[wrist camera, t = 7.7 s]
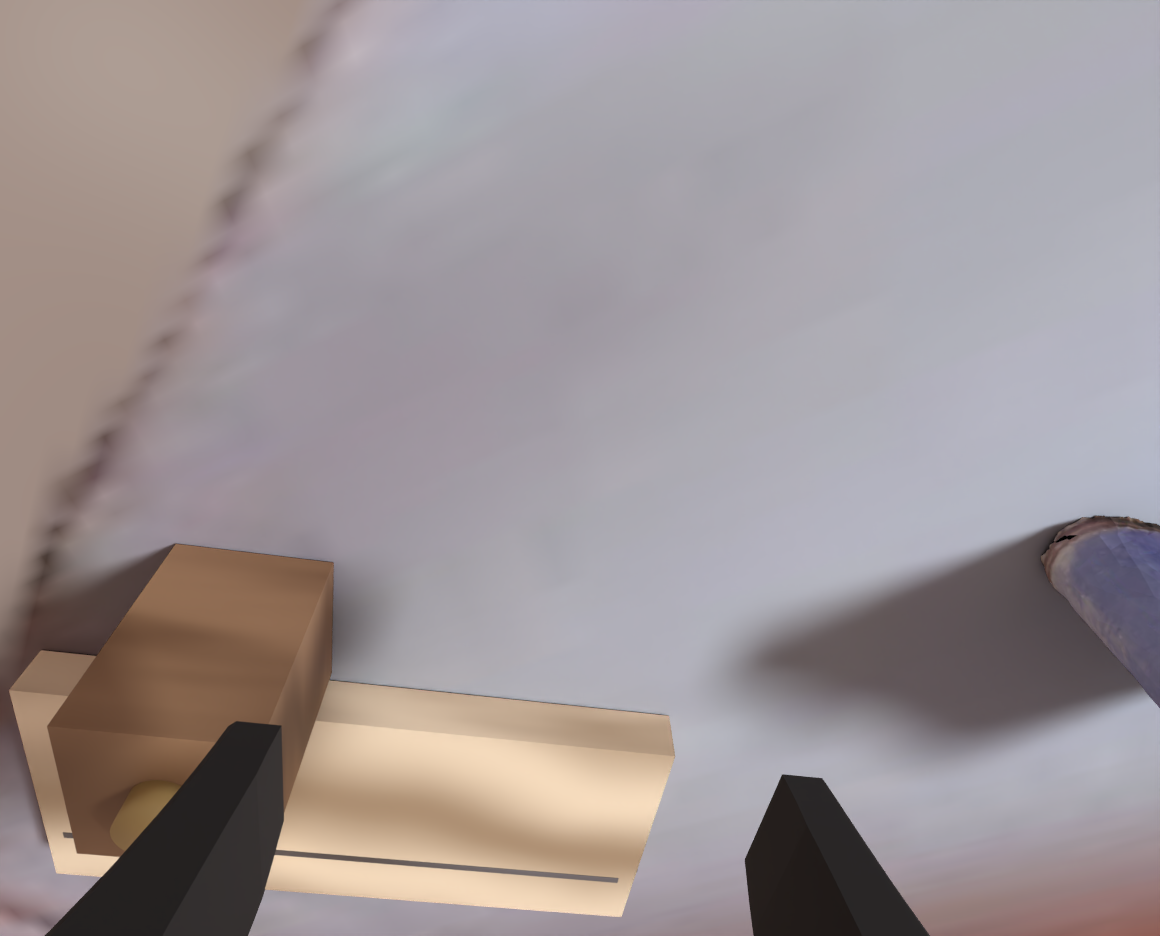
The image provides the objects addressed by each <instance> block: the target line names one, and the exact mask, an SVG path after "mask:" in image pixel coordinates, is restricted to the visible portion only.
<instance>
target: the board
mask: <svg viewBox="0 0 1160 936" xmlns="http://www.w3.org/2000/svg"><path fill="white" fill-rule="evenodd" d="M95 657H96V656H91V655H81V654H72V653H62V652H53V651H43V650H41V651H40V652H39V653H38V654H37V656H36V657H35V658H34V659H33V661H32V662H31V663H30V664H29V666H28V667H27V668H26V669H25V671H24V672H23V673H22V674H21V676H20V677H19V678H18V679H17V681H16V682H15V683H14V684H13V686H12V687H11V688H10V690H9V693H10V696H11V700H12V704H13V708H14V712H15V716H16V719H17V723H18V727H19V731H20V735H21V739H22V742H23V746H24V750H25V754H26V758H27V762H28V765H29V769H30V773H31V777H32V781H33V785H34V788H35V792H36V796H37V800H38V804H39V808H40V811H41V815H42V819H43V823H44V827H45V831H46V834H47V838H48V842H49V846H50V850H51V854H52V857H53V861H54V865H55V869H56V873H60V874H72V875H85V876H98V877H102V876H103V875H104V874H105V873H106V872H107V871H108V870H109V869H110V868H111V866H112V865H113V864H114V863H115V862H116V861H117V860H118V859H119V858H120V857H114V856H101V855H89V854H77V852H76V848H75V844H74V839H73V835H72V831H71V827H70V822H69V818H68V814H67V810H66V805H65V801H64V797H63V793H62V788H61V784H60V780H59V776H58V771H57V767H56V763H55V759H54V754H53V750H52V746H51V742H50V737H49V733H48V729H47V725H48V724H49V723H50V721H51V720H52V718H53V717H54V716H55V714H56V713H57V711H58V710H59V708H60V707H61V706H62V704H63V703H64V701H65V700H66V699H67V697H68V696H69V694H70V693H71V691H72V690H73V689H74V687H75V686H76V684H77V683H78V682H79V680H80V679H81V677H82V676H83V674H84V673H85V672H86V670H87V669H88V667H89V666H90V665H91V663H92V662H93V660H94V659H95ZM674 758H675V752H674V746H673V739H672V733H671V726H670V720H669V716H665V715H656V714H646V713H637V712H627V711H618V710H608V709H598V708H589V707H579V706H570V705H560V704H551V703H541V702H531V701H522V700H512V699H503V698H493V697H484V696H474V695H464V694H455V693H445V692H436V691H426V690H417V689H407V688H397V687H388V686H378V685H369V684H359V683H349V682H340V681H330V680H329V682H328V685H327V688H326V691H325V694H324V697H323V700H322V703H321V706H320V709H319V712H318V715H317V718H316V721H315V724H314V727H313V730H312V732H311V735H310V738H309V741H308V744H307V747H306V750H305V753H304V756H303V759H302V762H301V765H300V768H299V771H298V774H297V777H296V780H295V783H294V786H293V788H292V791H291V794H290V797H289V800H288V803H287V806H286V809H285V812H284V822H283V826H282V829H281V833H280V837H279V840H278V844H277V848H276V851H275V855H274V859H273V863H272V866H271V870H270V873H269V877H268V880H267V884H266V887H265V889H266V890H279V891H292V892H305V893H318V894H330V895H343V896H356V897H369V898H382V899H395V900H408V901H421V902H434V903H447V904H460V905H472V906H485V907H498V908H511V909H524V910H537V911H550V912H563V913H576V914H589V915H601V916H614V917H621V916H622V913H623V910H624V907H625V904H626V901H627V898H628V895H629V892H630V889H631V886H632V883H633V880H634V878H635V875H636V872H637V869H638V866H639V863H640V860H641V857H642V854H643V851H644V848H645V845H646V842H647V839H648V836H649V833H650V830H651V827H652V824H653V821H654V818H655V815H656V812H657V809H658V806H659V803H660V800H661V797H662V794H663V791H664V788H665V785H666V782H667V779H668V776H669V773H670V770H671V767H672V764H673V761H674Z"/></svg>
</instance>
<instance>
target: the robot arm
mask: <svg viewBox="0 0 1160 936" xmlns="http://www.w3.org/2000/svg"><path fill="white" fill-rule="evenodd" d="M283 822H284V801H283V763H282V725H272V724H261V723H251V722H241V721H236V722H234V723H232V724H231V725H229V726H228V727H227V728H226V730H225V731H224V732H223V734H222V735H221V736H220V738H219V739H218V740H217V742H216V743H215V744H214V746H213V747H212V748H211V750H210V751H209V752H208V753H207V755H206V756H205V757H204V759H203V760H202V761H201V762H200V764H199V765H198V766H197V768H196V769H195V770H194V771H193V773H192V774H191V775H190V776H189V777H188V779H187V780H186V781H185V782H184V784H183V785H182V786H181V787H180V788H179V790H178V791H177V792H176V793H175V794H174V796H173V797H172V798H171V799H170V800H169V802H168V803H167V804H166V805H165V806H164V808H163V809H162V810H161V811H160V812H159V814H158V815H157V816H156V817H155V818H154V819H153V820H152V821H151V823H150V824H149V825H148V826H147V827H146V828H145V829H144V830H143V832H142V833H141V834H140V835H139V836H138V837H137V838H136V840H135V841H134V842H133V843H132V844H131V845H130V846H129V847H128V849H127V850H126V851H125V852H124V853H123V854H122V855H121V856H120V858H119V859H118V860H117V861H116V862H115V863H114V864H113V865H112V866H111V868H110V869H109V870H108V871H107V872H106V873H105V874H104V875H103V876H102V877H101V878H100V879H99V880H98V881H97V882H96V883H95V884H94V886H93V887H92V888H91V889H90V890H89V891H88V892H87V893H86V894H85V895H84V896H83V897H82V898H81V899H80V900H79V901H78V902H77V903H76V904H75V905H74V906H73V907H72V908H71V909H70V910H69V911H68V912H67V914H66V915H65V916H64V917H63V918H62V919H61V920H60V921H59V922H58V923H57V924H56V925H55V926H54V927H53V928H52V929H51V930H50V931H49V932H48V933H47V934H46V935H45V936H248V934H249V932H250V929H251V926H252V924H253V921H254V919H255V916H256V913H257V911H258V908H259V905H260V903H261V900H262V897H263V894H264V891H265V887H266V884H267V880H268V877H269V873H270V870H271V866H272V863H273V859H274V855H275V851H276V848H277V844H278V840H279V837H280V833H281V829H282V826H283ZM745 866H746V875H747V885H748V895H749V903H750V911H751V919H752V927H753V935H754V936H930V935H929V934H928V932H927V931H926V930H925V928H924V927H923V925H922V924H921V923H920V921H919V920H918V918H917V917H916V916H915V914H914V913H913V911H912V910H911V909H910V907H909V906H908V904H907V903H906V902H905V900H904V899H903V897H902V896H901V895H900V893H899V892H898V890H897V889H896V887H895V886H894V884H893V883H892V882H891V880H890V879H889V877H888V876H887V874H886V873H885V871H884V870H883V868H882V867H881V865H880V864H879V862H878V861H877V860H876V858H875V857H874V855H873V854H872V852H871V851H870V849H869V848H868V846H867V845H866V843H865V842H864V840H863V839H862V837H861V836H860V834H859V833H858V831H857V830H856V828H855V827H854V825H853V824H852V822H851V821H850V819H849V818H848V816H847V815H846V813H845V812H844V810H843V808H842V807H841V805H840V804H839V802H838V801H837V799H836V798H835V796H834V795H833V793H832V792H831V790H830V789H829V788H828V786H827V785H826V783H825V782H824V780H823V779H822V778H813V777H803V776H793V775H783V774H782V776H781V779H780V781H779V783H778V786H777V788H776V790H775V792H774V795H773V797H772V799H771V801H770V804H769V806H768V808H767V811H766V813H765V815H764V817H763V820H762V822H761V824H760V826H759V829H758V831H757V833H756V836H755V838H754V840H753V842H752V845H751V847H750V849H749V851H748V854H747V856H746V858H745Z"/></svg>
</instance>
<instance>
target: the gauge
mask: <svg viewBox="0 0 1160 936" xmlns="http://www.w3.org/2000/svg"><path fill="white" fill-rule="evenodd" d="M333 572H334V563H332V562H324V561H315V560H307V559H299V558H290V557H282V556H274V555H265V554H257V553H248V552H240V551H232V550H223V549H215V548H207V547H198V546H190V545H181V544H175V546H174V547H173V548H172V550H171V551H170V553H169V554H168V556H167V557H166V558H165V560H164V561H163V563H162V564H161V565H160V567H159V568H158V570H157V571H156V573H155V574H154V575H153V577H152V578H151V580H150V581H149V582H148V584H147V585H146V587H145V588H144V590H143V591H142V592H141V594H140V595H139V597H138V598H137V599H136V601H135V602H134V604H133V605H132V607H131V608H130V609H129V611H128V612H127V614H126V615H125V616H124V618H123V619H122V621H121V622H120V623H119V625H118V626H117V628H116V629H115V631H114V632H113V633H112V635H111V636H110V638H109V639H108V640H107V642H106V643H105V645H104V646H103V648H102V649H101V650H100V652H99V653H98V655H97V656H96V657H95V659H94V660H93V662H92V663H91V665H90V666H89V667H88V669H87V670H86V672H85V673H84V674H83V676H82V677H81V679H80V680H79V682H78V683H77V684H76V686H75V687H74V689H73V690H72V691H71V693H70V694H69V696H68V697H67V699H66V700H65V701H64V703H63V704H62V706H61V707H60V708H59V710H58V711H57V713H56V714H55V716H54V717H53V718H52V720H51V721H50V723H49V724H48V725H47V729H48V733H49V737H50V742H51V746H52V750H53V754H54V759H55V763H56V767H57V771H58V776H59V780H60V784H61V788H62V793H63V797H64V801H65V805H66V810H67V814H68V818H69V822H70V827H71V831H72V835H73V839H74V844H75V848H76V852H77V854H89V855H101V856H114V857H120V856H121V855H122V854H123V853H124V852H125V851H126V850H127V849H128V847H129V846H130V845H131V844H132V843H133V842H134V841H135V840H136V838H137V837H138V836H139V835H140V834H141V833H142V832H143V830H144V829H145V828H146V827H147V826H148V825H149V824H150V823H151V821H152V820H153V819H154V818H155V817H156V816H157V815H158V814H159V812H160V811H161V810H162V809H163V808H164V806H165V805H166V804H167V803H168V802H169V800H170V799H171V798H172V797H173V796H174V794H175V793H176V792H177V791H178V790H179V788H180V787H181V786H182V785H183V784H184V782H185V781H186V780H187V779H188V777H189V776H190V775H191V774H192V773H193V771H194V770H195V769H196V768H197V766H198V765H199V764H200V762H201V761H202V760H203V759H204V757H205V756H206V755H207V753H208V752H209V751H210V750H211V748H212V747H213V746H214V744H215V743H216V742H217V740H218V739H219V738H220V736H221V735H222V734H223V732H224V731H225V730H226V728H227V727H228V726H229V725H231V724H232V723H234V722H236V721H241V722H251V723H261V724H272V725H282V763H283V801H284V812H285V809H286V806H287V803H288V800H289V797H290V794H291V791H292V788H293V786H294V783H295V780H296V777H297V774H298V771H299V768H300V765H301V762H302V759H303V756H304V753H305V750H306V747H307V744H308V741H309V738H310V735H311V732H312V730H313V727H314V724H315V721H316V718H317V715H318V712H319V709H320V706H321V703H322V700H323V697H324V694H325V691H326V688H327V685H328V682H329V679H330V676H331V674H332V626H333Z"/></svg>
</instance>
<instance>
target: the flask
mask: <svg viewBox="0 0 1160 936" xmlns="http://www.w3.org/2000/svg"><path fill="white" fill-rule="evenodd" d="M1064 535H1065V536H1068V535H1077V536H1075V537H1074V538H1072V539H1070V540H1068V539H1066V540H1063V541H1061V542H1058V543H1056V541H1057V540H1058V539H1060V538H1061V537H1063V536H1064ZM1054 541H1055V542H1054V543H1052V544H1050V546H1049V547H1050V550H1049V549H1048V550H1047V551H1046V554H1043V556H1041V561H1042V563H1043V565H1044V567H1045V572H1046V575H1047V577H1048V580H1049V582H1051V583H1052V585H1053V587H1054V588H1055V589H1056V590H1057V591H1058V592H1059V593H1060V594H1062V595H1063V596H1064V597H1065V598H1066V599H1067V600H1068V601H1069V603H1070V604H1071V606H1072V608H1073V609H1074V610H1075V611H1076V612H1077V614H1078V615H1079V616H1080V617H1081V618H1082V619H1083V620H1084V621H1085V622H1086V623H1087V624H1088V625H1089V627H1090V628H1091V629H1092V630H1093V631H1094V632H1095V634H1096V635H1097V636H1098V637H1099V638H1100V639H1101V640H1102V642H1103V643H1104V644H1105V645H1106V646H1107V647H1108V649H1109V650H1110V651H1111V652H1112V653H1113V654H1114V655H1115V657H1116V658H1117V659H1118V660H1119V661H1120V662H1121V663H1122V664H1123V665H1124V666H1125V667H1126V668H1127V669H1128V671H1129V672H1130V673H1131V674H1132V675H1133V676H1134V677H1135V678H1136V679H1137V681H1138V682H1139V683H1140V685H1141V686H1142V687H1143V689H1144V690H1145V691H1146V693H1147V694H1148V695H1149V696H1150V697H1151V698H1152V700H1153V701H1154V702H1155V703H1156V704H1157V705H1158V707H1159V708H1160V526H1159V525H1157V524H1150V523H1144V522H1143V521H1139V520H1138V519H1134V518H1130V517H1127V518H1123V517H1119V518H1115V517H1105V516H1095V518H1093V519H1091V518H1086V517H1082V518H1081V519H1080V520H1079V521H1077V522H1075V523H1073V524H1071V525H1068V526H1066V527H1065V528H1064V529H1062V530H1061V531H1059V532H1058V535H1057V536H1056V537H1055V539H1054Z"/></svg>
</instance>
